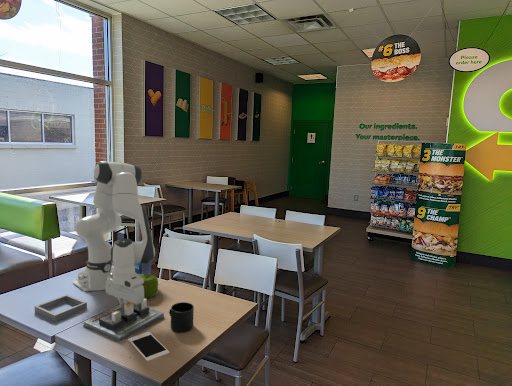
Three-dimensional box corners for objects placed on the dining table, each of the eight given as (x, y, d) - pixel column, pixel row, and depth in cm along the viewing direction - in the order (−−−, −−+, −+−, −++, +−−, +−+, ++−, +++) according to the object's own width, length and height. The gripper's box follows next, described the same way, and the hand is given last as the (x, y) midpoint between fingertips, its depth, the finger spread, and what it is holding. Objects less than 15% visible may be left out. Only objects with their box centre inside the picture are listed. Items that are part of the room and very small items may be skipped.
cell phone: (149, 333, 144) (149, 331, 144) (169, 354, 131) (169, 351, 131) (127, 340, 138) (127, 338, 138) (147, 363, 125) (147, 360, 125)
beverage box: (137, 278, 199) (136, 241, 196) (151, 283, 194) (151, 244, 191) (127, 282, 193) (127, 244, 190) (141, 287, 188) (141, 247, 185)
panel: (83, 326, 147) (83, 308, 146) (129, 304, 167) (129, 288, 166) (119, 342, 136) (119, 323, 135) (163, 317, 157) (164, 300, 156)
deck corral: (34, 312, 156) (34, 306, 155) (66, 300, 169) (66, 294, 168) (55, 322, 149) (54, 315, 148) (87, 308, 162) (86, 302, 161)
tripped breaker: (124, 314, 149) (124, 304, 149) (130, 311, 152) (130, 301, 151) (127, 315, 148) (127, 305, 148) (133, 312, 151) (133, 302, 150)
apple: (151, 289, 186) (151, 269, 185) (162, 295, 179) (162, 275, 177) (131, 294, 178) (131, 274, 177) (141, 302, 171) (141, 280, 169)
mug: (176, 317, 157) (177, 298, 156) (197, 325, 151) (198, 305, 150) (161, 326, 149) (161, 306, 148) (182, 335, 143) (183, 314, 142)
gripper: (101, 274, 151) (101, 304, 153) (135, 285, 142) (135, 317, 144) (113, 270, 157) (114, 299, 159) (146, 280, 147) (146, 311, 149)
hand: (124, 308), depth 151 cm, fingers closed
